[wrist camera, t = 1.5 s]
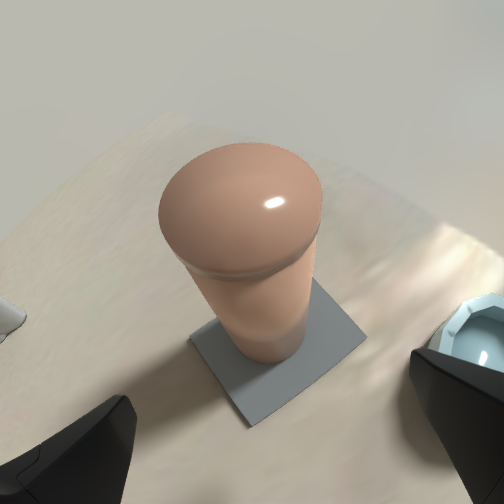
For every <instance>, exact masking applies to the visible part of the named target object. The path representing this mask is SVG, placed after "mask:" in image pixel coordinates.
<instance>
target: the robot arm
mask: <svg viewBox="0 0 504 504" xmlns="http://www.w3.org/2000/svg"><path fill="white" fill-rule="evenodd" d="M409 375H410V379H411V381H412V383H413V386H414V388H415V390H416V392H417V395H418V397H419V400H420V402H421V404H422V407H423V409H424V411H425V413H426V415H427V417H428V419H429V421H430V423H431V424H432V426H433V428H434V430H435V431H436V433H437V435H438V437H439V439H440V440H441V442H442V444H443V446H444V448H445V450H446V451H447V453H448V455H449V457H450V459H451V461H452V463H453V464H454V466H455V468H456V470H457V472H458V474H459V476H460V478H461V480H462V482H463V484H464V486H465V488H466V490H467V492H468V494H469V496H470V498H471V500H472V502H473V504H504V372H500V371H497V370H494V369H491V368H487V367H484V366H481V365H478V364H475V363H472V362H468V361H465V360H462V359H459V358H456V357H453V356H450V355H447V354H444V353H441V352H438V351H435V350H432V349H429V348H426V347H421V348H417V349H414V350H413V351H412V352H411V356H410V367H409ZM136 423H137V415H136V412H135V410H134V408H133V406H132V404H131V402H130V400H129V398H128V397H127V396H126V395H114V396H112V397H111V398H110V399H108V400H107V401H105V402H104V403H102V404H101V405H99V406H98V407H96V408H95V409H93V410H92V411H90V412H89V413H87V414H86V415H84V416H83V417H81V418H80V419H78V420H77V421H75V422H73V423H72V424H70V425H69V426H67V427H66V428H64V429H63V430H61V431H60V432H58V433H56V434H55V435H53V436H52V437H50V438H49V439H47V440H45V441H44V442H42V443H41V445H40V444H39V445H37V446H36V447H34V448H33V449H31V450H29V451H28V452H26V453H24V454H23V455H21V456H19V457H17V458H15V459H13V460H11V461H9V462H7V463H5V464H3V465H1V466H0V504H120V503H121V499H122V495H123V490H124V486H125V482H126V478H127V474H128V470H129V466H130V462H131V457H132V452H133V444H134V437H135V430H136Z"/></svg>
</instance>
